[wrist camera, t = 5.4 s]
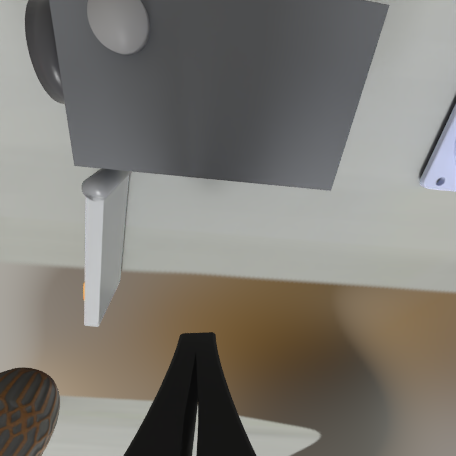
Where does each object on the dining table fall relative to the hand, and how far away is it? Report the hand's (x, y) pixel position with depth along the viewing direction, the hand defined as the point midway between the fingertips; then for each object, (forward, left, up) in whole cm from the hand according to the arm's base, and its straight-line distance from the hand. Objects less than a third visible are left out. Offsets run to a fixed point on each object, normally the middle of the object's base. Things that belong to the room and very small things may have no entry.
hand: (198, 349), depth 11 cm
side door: (+5, -2, -7) cm, 9 cm away
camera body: (0, -9, -7) cm, 12 cm away
